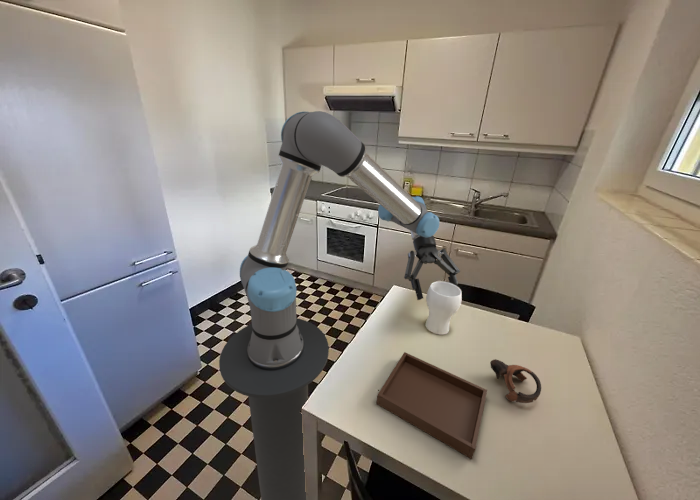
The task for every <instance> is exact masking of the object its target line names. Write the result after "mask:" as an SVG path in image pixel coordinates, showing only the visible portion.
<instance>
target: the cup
mask: <svg viewBox="0 0 700 500" xmlns="http://www.w3.org/2000/svg"><path fill="white" fill-rule="evenodd" d="M457 286H458V285H457ZM457 286H456V285H454V284H451V283H449V281H441V280H439V281H437V280H436V281H434V282H432V283H430V285H429V287H428V289H427V290H426V291H427V292H426V297H425V299H426V306H427V308H428V316H427V319H426V321H425V324H424V325H425V328H426V330H428V331H429V332H431V333H432V334H435V335H446V334H448V333H449V332H450V325H451V324H450V323H451V319H452V317H453V316H454V315H455V314H456V313H457V312H458V310H459V309H460V307H461V305H462V299H463V297H462V296H463V295H462V289H461V288H460V287H459V286H458V287H457Z"/></svg>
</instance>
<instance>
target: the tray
mask: <svg viewBox="0 0 700 500" xmlns="http://www.w3.org/2000/svg"><path fill="white" fill-rule="evenodd" d="M487 394H488V389H486V388H484V387H481V386H479V385H477V384H475V383H473V382H471V381H469V380H467V379H465V378H462V377H460V376H458V375H456V374H453V373H451V372H449V371H447V370H445V369H442V368H440V367H438V366H436V365H434V364H432V363H429V362H427V361H426V360H423V359H421V358H418V357H417V356H414V355H412V354H410V353H407V352H406V351H404V352H403V354H402V355H401V357H400V358H399V360H398V362H397V363H396V365H395V366H394V367H393V369H392V371H391V372H390V374H389V376H388V377H387V379H386V380H385V382H384V384H383V385H382V387H380V390H379V391H378V393H377V395H376V396H377V397H376V402H375V404H376V405H378V406H380V407H381V408H383V409H385V410H387V411H388V412H389V413H392V414H394V415H395V416H397V417H398V418H400V419H402V420H403V421H406V422H407V423H409V424H410V425H412V426H415V427H416V428H417V429H419V430H421V431H422V432H424V433H426V434H428V435H430V436H432V437H433V438H435V439H437V440H438V441H440V442H442V443H444V444H445V445H446V446H449V447H450V448H452V449H454V450H455V451H457V452H458V453H460V454H462V455H464V456H466V457H467V458H469V459H470V460H472V459H473V457H474V454H475V451H476V449H477V443H478V439H479V438H478V437H479V433H480V429H481V424H482V419H483V414H484V408H485V405H486V404H485V403H486V399H487Z"/></svg>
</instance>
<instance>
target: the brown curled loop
mask: <svg viewBox="0 0 700 500" xmlns="http://www.w3.org/2000/svg"><path fill="white" fill-rule="evenodd" d="M490 368H491V370H492V371H493V373H494V374H495V377H496V379H497V380H499V378H500V377H504V382H505V386H506V388H507V390H508V392H509V393H507V394H505V398H506V399H507V400H508V401H509V402H516V403H520V404H530V403H533V402H534V401H537V399H538V398H539V397H540V395H541V392H542V383H541V381H540V378H539V377H538V376H537V374H535V372H533V371H532V370H531V369H529V368H527V367H524V366H521V365H519V364H506V363H505V362H504V361H501V360H499V359H496V358H495V359H492V360H490ZM522 372H526V373H527V374H528V375H530V376H531V377H532V378H533V381H534V382H535V384H536V389H535V391H534V392H533V393H532V394H525V393H523V392H522V391H518V393H517V392H516V390H515V389H516V386H515V384H514V382H513V376H514V377H516V378H517V379H519V380H520V381H521V382H524V381H525V380H527V379H528V378H527V376H526V375H525V374H524V373H522Z"/></svg>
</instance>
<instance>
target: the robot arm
mask: <svg viewBox="0 0 700 500" xmlns="http://www.w3.org/2000/svg"><path fill="white" fill-rule="evenodd" d="M281 127H282V128H281V131H280V138H281V139H280V140H281V145H280V149H279V152H278V159H279V162H280V163H281V165H280V168H279V172H278V175H277V179H276V182H275V185H274V189H273V191H272V195H271V198H270V201H269V204H268V208H267V211H266V214H265V218H264V220H263V224H262V227H261V230H260V234H259V237H258V239H257V243H256V244H255V245H253V246H251V247H250V248H249V250H248V253H247V255H246V256H245V257H244V258H243V260H242V261H241V263H240V267H239V278H240V281H241V284H242V287H243V290H244V293H245V295H246V299H247V302H248V306H249V310H250V320H251V324H252V329H253V331H252V334H251V339H250V341H249V344H248V348H247V351H248V358H249V360H250V362H251V363H252V364H253V365H254V366H255V367H257V368H259V369H263V370H279V369H283V368H286V367H288V366H290V365H292V364H293V363H295V362H296V361H297V360H298V359H299V358H300V357H301V355H302V353H303V348H304V343H303V338H302V336H301V335H302V334H300V333H301V332H300V330H299V329H298V327H297V323H296V318H297V284H296V280H295V277H294V276H293V274H292V273H291V272H290V271H288V270H287V267H288V264H289V261H290V258H289V256H288V254H287V251H288V248H289V246H290V242H291V239H292V236H293V234H294V230H295V228H296V225H297V221H298V218H299V216H300V214H301V209H302V207H303V204H304V201H305V198H306V195H307V192H308V189H309V186H310V183H311V180H312V177H313V176H315V175H316V174H319V173H320V171H321V168H322V166H323V167H326V168H327V169H329V170H331V171H332V172H333V173H335V174H336V175H337V176H338V177H341V178H344V177H346V178H347V179H349V180H350V181H351V182H352V183H354V184H355V186H357V187H358V188H360V189H361V191H363V192H364V193H365V194H367V195H368V196H369V197H371V199H372V200H374V201H375V202H376V203H378V207H377V214H378V217H379V219H380V220H381V221H386V222H391V223H394V224H397V225H398V226H401V227H402V228H405V229H406V230H409V233H410V237H411V240H412V245H413V248H414V250H410V251H409V252H408V253H407V263H406V269H405V272H404V276H403V278H404V279H405V280H408V281H409V282H410V284H411V289H412V290H413V291H415V296H416V301H421V300H422V299H424V295H423V291H422V287H421V282H420V279H419V278H418V277H417V276H418V274H419V273H420V271H421V269H422V266H423V265H427V264H434V265H437V266H438V267H439V268H440V269H441V270H442V271H444V272H445V274H447V275H448V277H447V279H448V283H451V284H454V285H456V286H457V287H459V286H458V285H459V281H458V277H457V274H459V273H460V272H461V270H460V269H459V267H458V266H457V264H456V263H455V262H454V261H453V259H452V258H451V257H450V255H449V254H448V252H447V250H446V248H441V249H437V242H436V239H435V236H434V235H435V234H436V233H437V231H438V230H439V229H440V219H439V216H438V215H436V214H435V213H433V212H432V211H428V210H427V205H426V203H425V201H424V199H423V197H422V196H419V195H418V196H417V195H416V196H411V195H410V193H408V192H407V191H406V189H404V188H403V187H402V186H401V185H400V184H399V183H398V182H397V181H396V180H395V179H394V178H393V177H392V176H391V175H390V174H389V173H388V172H387V171H386V170H385V169H384V168H383V167H382V166H381V165H380V164H379V163H377V161H376V160H374V159H373V157H371V156H370V154H369V153H367V147H366V144H364V143H363V142H362V141H361V140H360V139H359V138H358V137H357V135H356V134H354V133H353V132H352V130H350V128H348V127H347V125H345V124H344V123H343V122H342V121H341V120H339V119H338V118H337V117H336V116H335V115H333V114H331V113H329V112H326V111H321V110H316V111H299V112H296V113H294V114H292V115H290V116H289V117H288V118H287V119H286V120H285V121H284V123H283V125H282V126H281ZM415 258H417V259H418V260H417V262H416V264H415V266H414V263H415ZM413 267H414V268H413Z"/></svg>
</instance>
